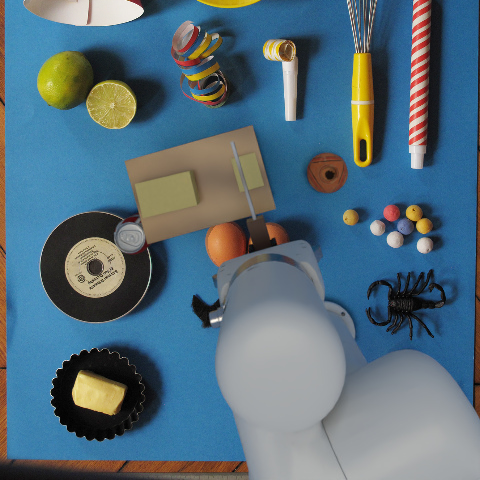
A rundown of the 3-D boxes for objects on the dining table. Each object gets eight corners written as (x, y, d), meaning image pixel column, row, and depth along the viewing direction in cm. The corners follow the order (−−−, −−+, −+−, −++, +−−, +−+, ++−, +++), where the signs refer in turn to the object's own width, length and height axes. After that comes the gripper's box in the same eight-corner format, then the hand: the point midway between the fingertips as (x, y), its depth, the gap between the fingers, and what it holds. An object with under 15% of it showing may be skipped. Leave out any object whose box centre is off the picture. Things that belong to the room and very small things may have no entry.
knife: (283, 281, 54) (284, 289, 51) (266, 286, 54) (267, 294, 51) (240, 139, 54) (240, 138, 51) (224, 144, 54) (222, 144, 51)
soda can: (159, 246, 86) (144, 260, 74) (127, 239, 86) (107, 252, 74) (165, 213, 86) (152, 223, 74) (133, 207, 86) (114, 215, 74)
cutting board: (269, 195, 85) (276, 209, 62) (175, 221, 86) (147, 244, 63) (252, 133, 85) (252, 124, 62) (158, 160, 86) (124, 160, 63)
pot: (354, 178, 84) (356, 184, 78) (319, 195, 86) (318, 203, 80) (335, 143, 84) (335, 147, 78) (301, 161, 86) (298, 166, 80)
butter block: (200, 202, 62) (197, 205, 59) (148, 214, 63) (142, 218, 59) (192, 170, 62) (189, 170, 59) (141, 182, 63) (134, 183, 59)
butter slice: (240, 191, 62) (263, 184, 62) (240, 192, 60) (264, 185, 60) (231, 158, 62) (254, 152, 62) (230, 158, 60) (254, 152, 60)
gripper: (192, 370, 35) (213, 298, 53) (378, 318, 34) (334, 263, 53) (166, 283, 35) (196, 241, 53) (352, 230, 34) (317, 206, 53)
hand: (265, 252), depth 53 cm, fingers closed on knife, 2 cm apart
